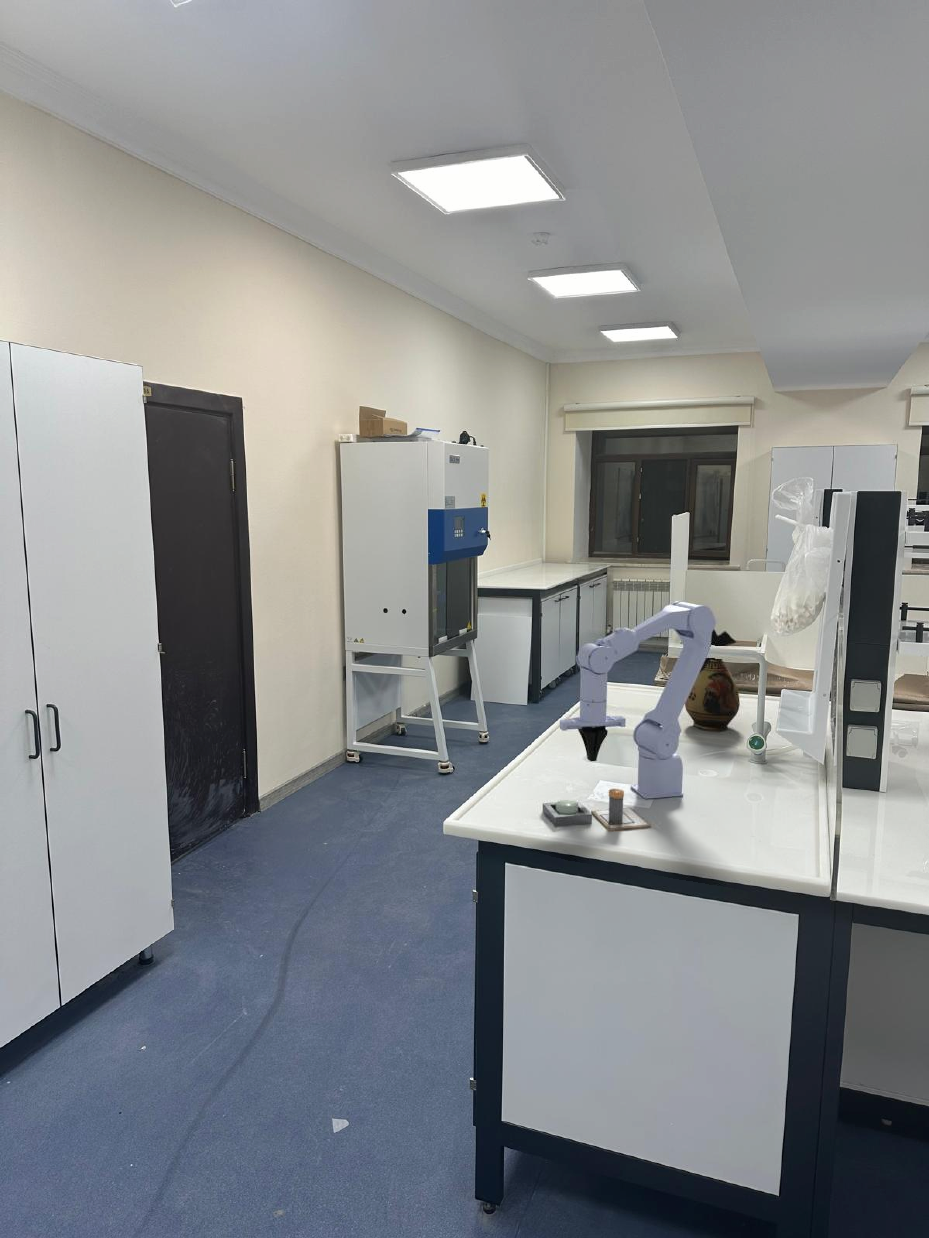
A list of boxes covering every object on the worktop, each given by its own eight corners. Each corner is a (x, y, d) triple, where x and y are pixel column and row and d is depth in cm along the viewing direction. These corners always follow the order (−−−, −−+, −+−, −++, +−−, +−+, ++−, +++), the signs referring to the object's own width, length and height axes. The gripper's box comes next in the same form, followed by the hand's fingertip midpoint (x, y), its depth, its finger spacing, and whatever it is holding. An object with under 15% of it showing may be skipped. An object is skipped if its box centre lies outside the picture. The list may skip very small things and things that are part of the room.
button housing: (578, 809, 175) (578, 800, 175) (591, 823, 167) (592, 814, 167) (542, 812, 173) (542, 803, 173) (554, 826, 165) (555, 817, 165)
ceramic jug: (736, 721, 245) (741, 623, 240) (740, 735, 230) (745, 631, 226) (677, 717, 249) (681, 620, 245) (678, 731, 234) (682, 628, 230)
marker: (622, 819, 168) (622, 788, 167) (623, 824, 165) (624, 793, 164) (607, 818, 168) (608, 788, 167) (609, 824, 165) (609, 793, 164)
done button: (573, 811, 173) (573, 799, 173) (581, 819, 168) (581, 807, 168) (552, 812, 172) (552, 801, 172) (560, 821, 167) (560, 809, 167)
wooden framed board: (630, 809, 175) (630, 806, 175) (651, 827, 165) (651, 824, 165) (591, 812, 173) (591, 810, 173) (609, 831, 163) (609, 828, 163)
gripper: (617, 693, 182) (615, 752, 184) (555, 696, 179) (554, 756, 181) (630, 700, 175) (628, 761, 177) (566, 704, 172) (565, 766, 174)
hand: (591, 759), depth 178 cm, fingers closed
